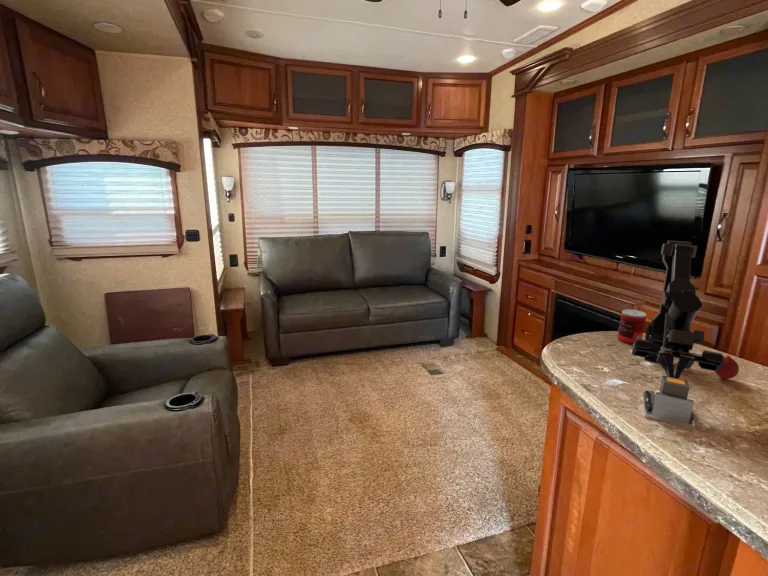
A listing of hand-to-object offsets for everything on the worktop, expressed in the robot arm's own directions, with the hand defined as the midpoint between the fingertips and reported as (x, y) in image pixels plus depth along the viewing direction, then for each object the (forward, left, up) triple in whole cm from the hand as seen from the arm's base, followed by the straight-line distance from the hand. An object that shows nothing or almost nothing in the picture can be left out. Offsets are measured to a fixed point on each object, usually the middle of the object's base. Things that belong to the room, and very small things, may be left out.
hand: (673, 385), depth 99 cm
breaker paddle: (0, -2, -6) cm, 7 cm away
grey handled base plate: (0, +1, -8) cm, 8 cm away
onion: (+11, +32, -8) cm, 35 cm away
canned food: (-16, +47, -8) cm, 51 cm away
